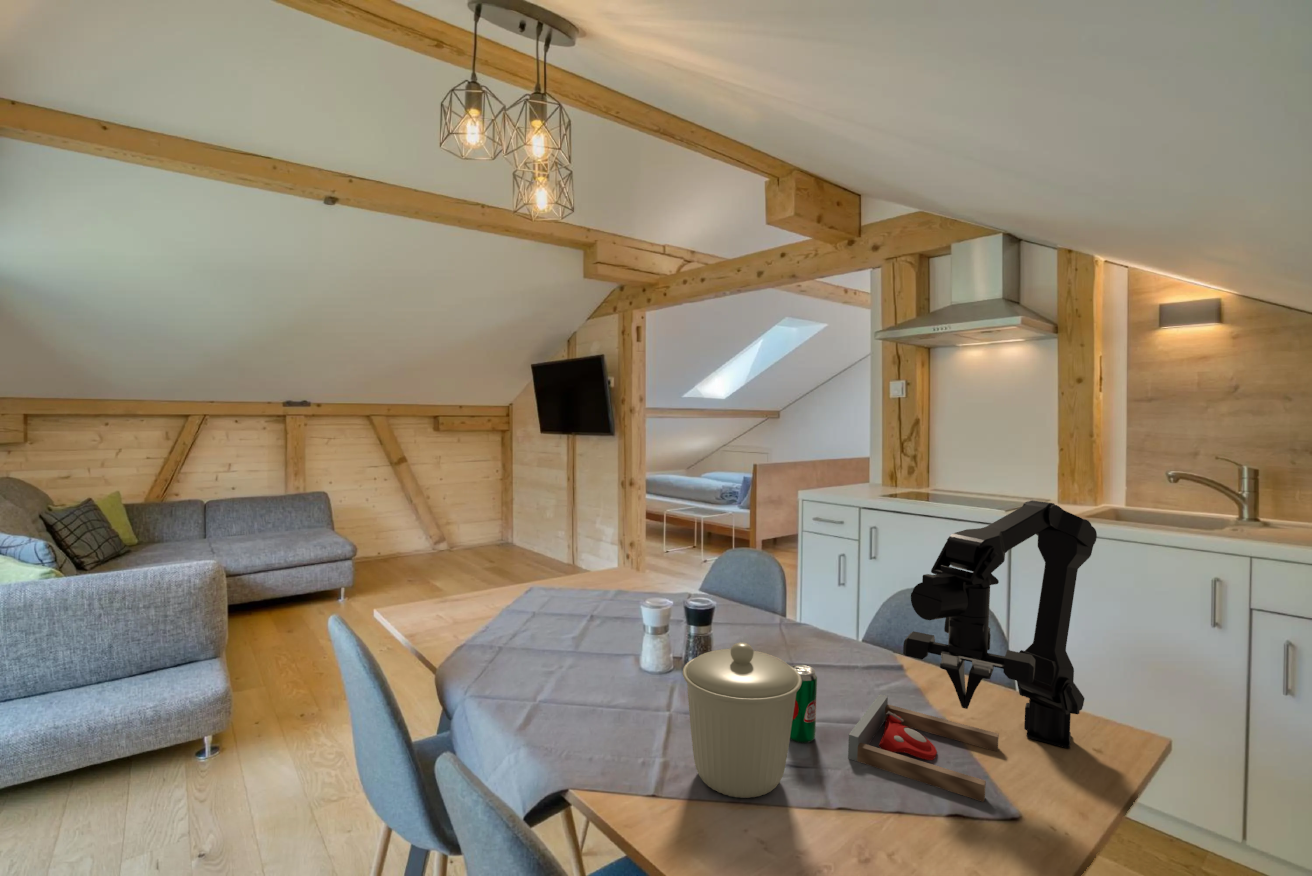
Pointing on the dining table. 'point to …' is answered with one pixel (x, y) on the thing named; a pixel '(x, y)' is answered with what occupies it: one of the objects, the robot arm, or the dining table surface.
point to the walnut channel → (925, 770)
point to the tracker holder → (905, 739)
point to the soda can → (805, 706)
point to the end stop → (867, 726)
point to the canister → (740, 718)
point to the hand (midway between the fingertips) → (965, 707)
